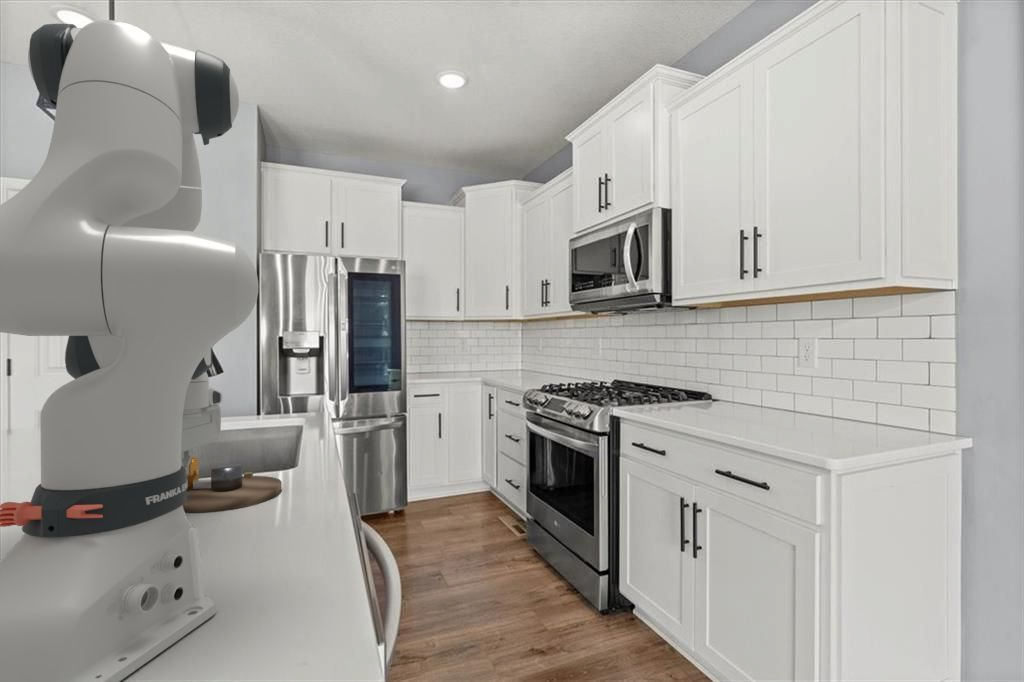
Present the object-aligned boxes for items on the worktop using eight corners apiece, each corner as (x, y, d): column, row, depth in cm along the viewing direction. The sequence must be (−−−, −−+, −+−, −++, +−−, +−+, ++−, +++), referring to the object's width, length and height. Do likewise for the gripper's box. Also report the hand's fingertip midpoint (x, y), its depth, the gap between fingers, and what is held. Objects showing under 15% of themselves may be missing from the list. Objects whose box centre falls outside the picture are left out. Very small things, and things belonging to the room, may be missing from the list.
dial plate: (254, 511, 85) (254, 497, 85) (142, 514, 85) (142, 499, 85) (296, 482, 103) (296, 470, 103) (204, 484, 103) (204, 473, 103)
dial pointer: (247, 482, 97) (247, 454, 97) (233, 490, 92) (233, 460, 92) (192, 483, 97) (192, 455, 97) (175, 491, 92) (175, 461, 92)
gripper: (160, 404, 81) (161, 493, 81) (227, 393, 102) (228, 464, 102) (118, 405, 81) (119, 494, 81) (194, 393, 102) (194, 464, 101)
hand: (180, 477), depth 91 cm, fingers closed
